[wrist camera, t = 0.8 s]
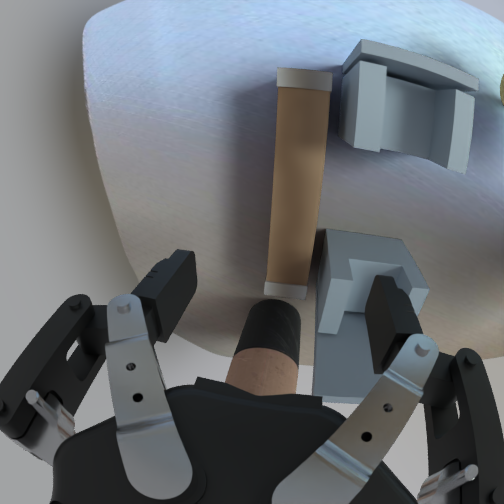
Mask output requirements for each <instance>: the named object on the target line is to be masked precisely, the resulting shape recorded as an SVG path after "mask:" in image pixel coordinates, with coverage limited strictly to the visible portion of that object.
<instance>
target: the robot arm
mask: <svg viewBox="0 0 504 504" xmlns="http://www.w3.org/2000/svg"><path fill="white" fill-rule="evenodd" d="M196 288H197V273H196V262H195V254H194V252H193V251H187V250H180V249H177V250H176V251H175V252H174V253H173V254H172V255H171V257H170V258H169V259H166V258H165V259H164V260H162V261H160V262H158V263H157V264H156V265H155V266H154V267H153V268H152V269H151V272H149V273H148V274H147V275H146V277H144V278H143V280H142V281H141V282H140V283H139V284H138V285H137V287H136V288H135V289H134V290H133V291H132V293H131V294H123V295H119V296H117V297H115V298H113V299H112V300H111V301H110V302H109V303H108V305H92V302H91V300H90V298H89V297H88V296H87V295H84V294H78V295H74V296H72V297H70V298H68V299H67V300H66V301H65V302H64V303H63V304H62V305H61V306H60V307H59V308H58V309H57V311H56V312H55V313H54V314H53V315H52V316H51V318H50V319H49V320H48V321H47V322H46V323H45V325H44V326H43V327H42V328H41V329H40V331H39V332H38V333H37V334H36V336H35V337H34V338H33V339H32V341H31V342H30V343H29V345H28V346H27V347H26V348H25V350H24V351H23V352H22V354H21V355H20V356H19V358H18V359H17V360H16V362H15V363H14V365H13V366H12V367H11V369H10V370H9V372H8V373H7V374H6V376H5V377H4V379H3V380H2V382H1V383H0V430H1V431H2V432H3V433H4V434H5V435H6V436H7V437H8V438H9V439H11V440H12V441H13V442H15V443H16V444H17V445H19V446H20V447H21V448H23V449H24V450H25V451H28V452H30V453H31V454H33V455H34V456H36V457H37V458H38V459H41V460H44V461H45V462H47V463H48V464H50V465H51V466H52V467H53V492H52V498H51V501H50V504H504V439H503V433H502V428H501V423H500V419H499V414H498V411H497V407H496V402H495V399H494V395H493V392H492V388H491V385H490V382H489V379H488V376H487V373H486V370H485V367H484V364H483V361H482V359H481V357H480V356H479V355H478V354H477V353H476V352H475V351H474V350H472V349H469V348H462V349H460V350H459V351H458V352H457V354H456V355H455V356H452V355H448V354H445V353H442V352H439V349H438V346H437V344H436V343H435V342H434V340H432V339H431V338H430V337H428V336H426V335H424V334H423V332H422V329H421V326H420V323H419V321H418V318H417V315H416V313H415V310H414V308H413V306H412V303H411V300H410V298H409V296H408V295H407V294H406V293H405V292H404V291H403V289H399V288H398V287H397V285H396V282H395V280H394V278H393V277H392V276H385V275H376V276H375V278H374V281H373V284H372V287H371V290H370V293H369V296H368V299H367V302H366V306H365V320H366V325H367V331H368V337H369V343H370V349H371V356H372V363H373V370H374V374H383V375H382V376H381V378H380V379H379V380H378V382H377V383H376V384H375V386H374V387H373V388H372V389H371V391H370V392H369V393H368V395H367V396H366V397H365V398H364V400H363V401H362V402H361V403H360V404H359V406H358V407H357V408H356V409H355V411H354V412H353V413H352V414H351V415H350V416H349V417H348V418H347V419H346V418H345V417H344V416H343V415H341V414H340V413H339V412H337V411H335V410H333V409H331V408H329V407H326V406H323V405H322V398H323V396H312V395H301V394H292V393H291V394H280V395H266V396H258V395H254V394H252V393H249V392H247V391H244V390H242V389H239V388H237V387H235V386H232V385H230V384H228V383H224V382H219V381H214V380H210V379H206V378H201V377H197V379H196V382H195V384H194V385H182V386H176V387H173V388H169V389H167V387H166V385H165V382H164V378H163V376H162V372H161V369H160V366H159V362H158V359H157V356H156V352H155V349H154V344H155V343H156V341H160V342H164V343H166V342H167V341H168V339H169V337H170V335H171V334H172V332H173V330H174V328H175V327H176V325H177V323H178V321H179V320H180V318H181V316H182V314H183V313H184V311H185V309H186V307H187V306H188V304H189V302H190V300H191V299H192V297H193V295H194V294H195V291H196ZM75 340H77V342H78V344H79V345H78V346H77V348H76V349H75V351H74V352H73V353H72V355H71V357H70V358H69V359H68V361H67V360H66V356H67V352H68V350H69V349H70V347H71V346H72V344H73V343H74V342H75ZM105 360H107V368H108V376H109V383H110V389H111V396H112V402H113V407H114V412H115V416H113V417H111V418H109V419H107V420H105V421H103V422H101V423H99V424H96V425H95V426H92V427H90V428H88V429H85V430H83V431H81V432H79V433H76V434H75V430H74V427H75V423H74V418H73V417H74V415H75V413H76V411H77V409H78V407H79V405H80V403H81V402H82V400H83V398H84V396H85V395H86V393H87V391H88V389H89V387H90V386H91V384H92V382H93V380H94V379H95V377H96V375H97V373H98V371H99V370H100V368H101V367H102V365H103V363H104V362H105ZM456 401H458V405H459V410H460V417H459V419H458V414H457V408H456V403H455V402H456ZM418 403H422V404H424V412H425V420H426V431H427V444H428V462H429V463H428V465H429V477H428V478H427V479H426V480H425V481H424V483H423V484H422V486H421V489H420V492H419V494H418V496H417V499H418V500H416V499H415V497H414V496H413V495H412V494H411V493H410V492H409V491H408V489H407V488H406V487H405V486H404V485H403V484H402V483H401V482H400V480H399V479H398V478H397V477H396V476H395V475H394V473H393V472H392V471H391V470H390V469H389V468H388V466H387V465H386V464H385V463H384V462H383V461H382V459H383V458H384V456H385V455H386V454H387V452H388V451H389V449H390V448H391V446H392V445H393V444H394V442H395V441H396V439H397V438H398V436H399V434H400V433H401V431H402V430H403V428H404V427H405V425H406V423H407V422H408V420H409V418H410V417H411V415H412V413H413V411H414V410H415V408H416V406H417V404H418Z"/></svg>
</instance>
